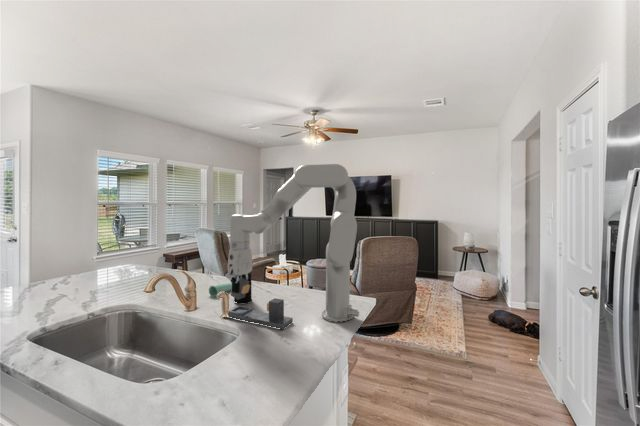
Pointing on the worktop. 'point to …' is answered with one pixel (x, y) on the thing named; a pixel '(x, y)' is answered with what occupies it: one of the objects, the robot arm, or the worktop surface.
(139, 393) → the worktop surface
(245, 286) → the dark grey block
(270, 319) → the rail
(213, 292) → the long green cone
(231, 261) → the robot arm
